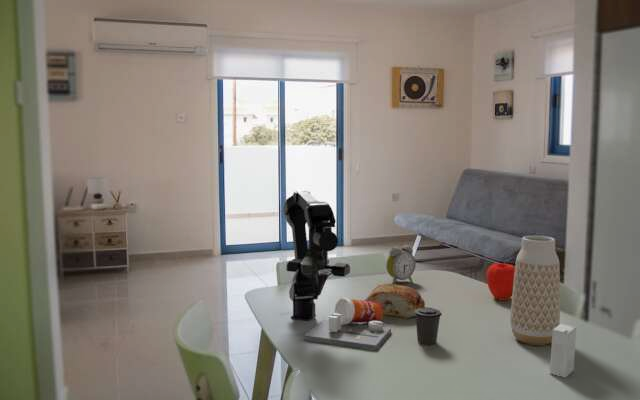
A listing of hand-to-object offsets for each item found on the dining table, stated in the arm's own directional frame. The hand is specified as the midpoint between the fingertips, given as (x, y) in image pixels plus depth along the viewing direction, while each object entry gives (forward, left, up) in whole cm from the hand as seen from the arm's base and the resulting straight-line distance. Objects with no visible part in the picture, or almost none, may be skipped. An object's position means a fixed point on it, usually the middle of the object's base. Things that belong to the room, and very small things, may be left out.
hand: (318, 295), depth 186 cm
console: (+10, +1, -12) cm, 15 cm away
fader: (+6, 0, -10) cm, 11 cm away
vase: (+62, +19, -12) cm, 66 cm away
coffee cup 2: (+33, +5, -12) cm, 35 cm away
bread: (+16, +32, -12) cm, 38 cm away
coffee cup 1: (+13, +18, -9) cm, 24 cm away
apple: (+49, +60, -12) cm, 78 cm away
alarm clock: (+8, +69, -12) cm, 70 cm away
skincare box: (+70, -4, -12) cm, 71 cm away
